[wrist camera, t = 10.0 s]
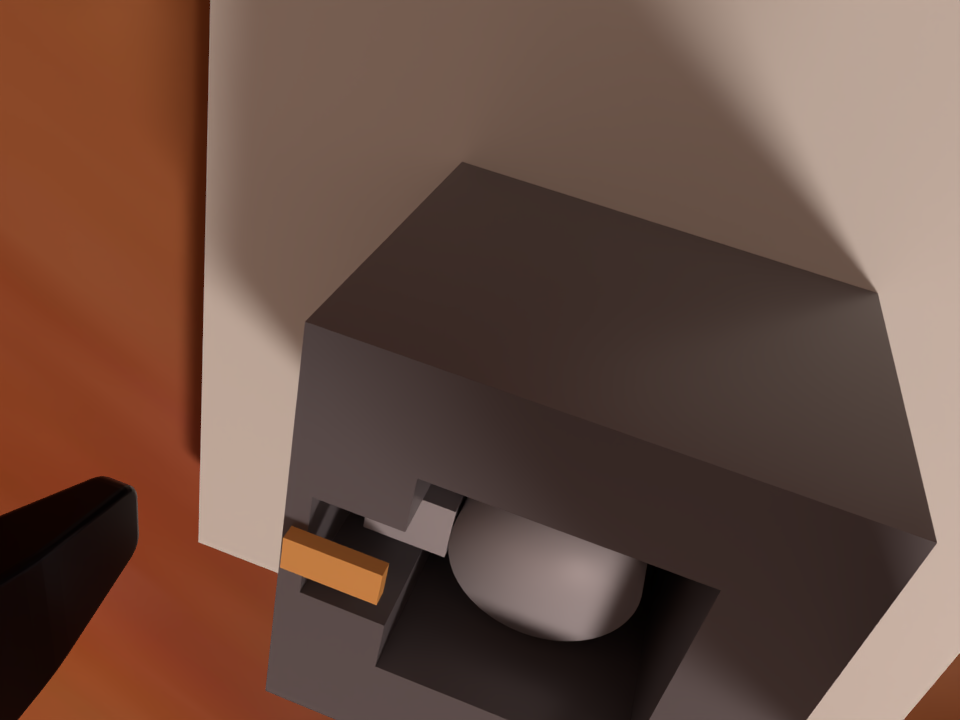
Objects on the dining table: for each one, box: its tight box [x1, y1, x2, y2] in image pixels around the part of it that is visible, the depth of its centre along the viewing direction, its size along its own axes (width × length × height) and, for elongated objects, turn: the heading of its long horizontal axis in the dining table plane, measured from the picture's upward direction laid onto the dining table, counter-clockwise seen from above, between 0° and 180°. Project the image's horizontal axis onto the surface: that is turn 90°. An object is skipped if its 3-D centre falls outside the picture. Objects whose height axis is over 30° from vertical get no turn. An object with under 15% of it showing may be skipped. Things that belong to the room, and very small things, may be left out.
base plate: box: [199, 0, 960, 720], centre depth 12 cm, size 14×14×6 cm
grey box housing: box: [266, 162, 937, 720], centre depth 11 cm, size 6×6×5 cm
